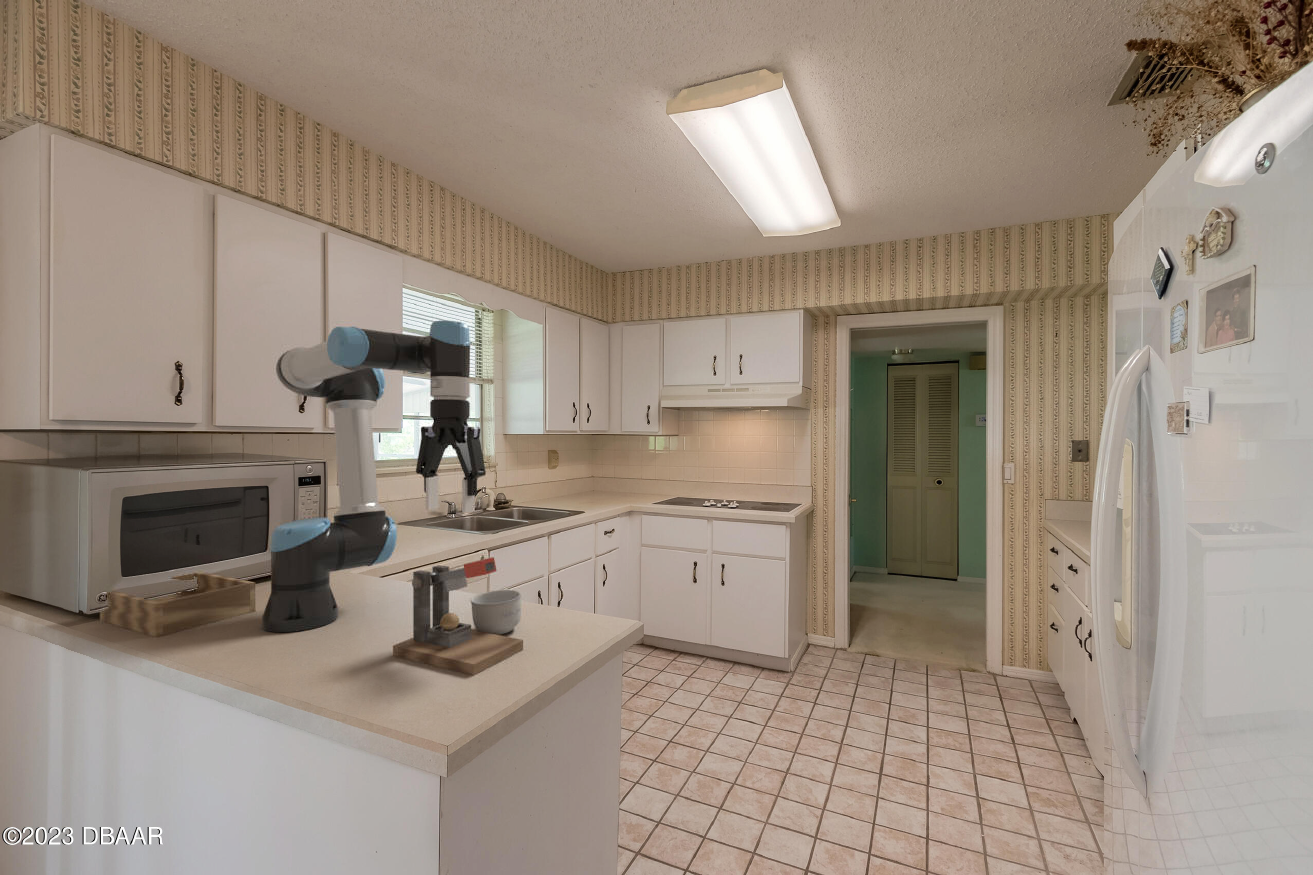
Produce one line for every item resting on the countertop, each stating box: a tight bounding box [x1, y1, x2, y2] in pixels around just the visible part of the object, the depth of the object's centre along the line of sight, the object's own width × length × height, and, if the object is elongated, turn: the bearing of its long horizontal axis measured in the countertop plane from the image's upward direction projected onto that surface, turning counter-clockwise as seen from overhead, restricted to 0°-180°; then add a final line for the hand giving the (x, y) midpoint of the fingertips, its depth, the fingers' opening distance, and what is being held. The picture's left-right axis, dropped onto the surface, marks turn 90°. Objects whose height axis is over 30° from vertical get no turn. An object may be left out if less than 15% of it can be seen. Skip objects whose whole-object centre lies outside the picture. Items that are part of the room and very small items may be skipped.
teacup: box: [470, 587, 522, 636], centre depth 134 cm, size 14×11×8 cm
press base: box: [392, 564, 524, 676], centre depth 119 cm, size 21×14×16 cm, turn 64°
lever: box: [430, 556, 497, 592], centre depth 119 cm, size 17×3×5 cm, turn 64°
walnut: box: [440, 612, 460, 631], centre depth 120 cm, size 4×4×4 cm
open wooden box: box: [99, 571, 256, 638], centre depth 142 cm, size 24×20×7 cm
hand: (450, 510), depth 120 cm, fingers open, 9 cm apart
